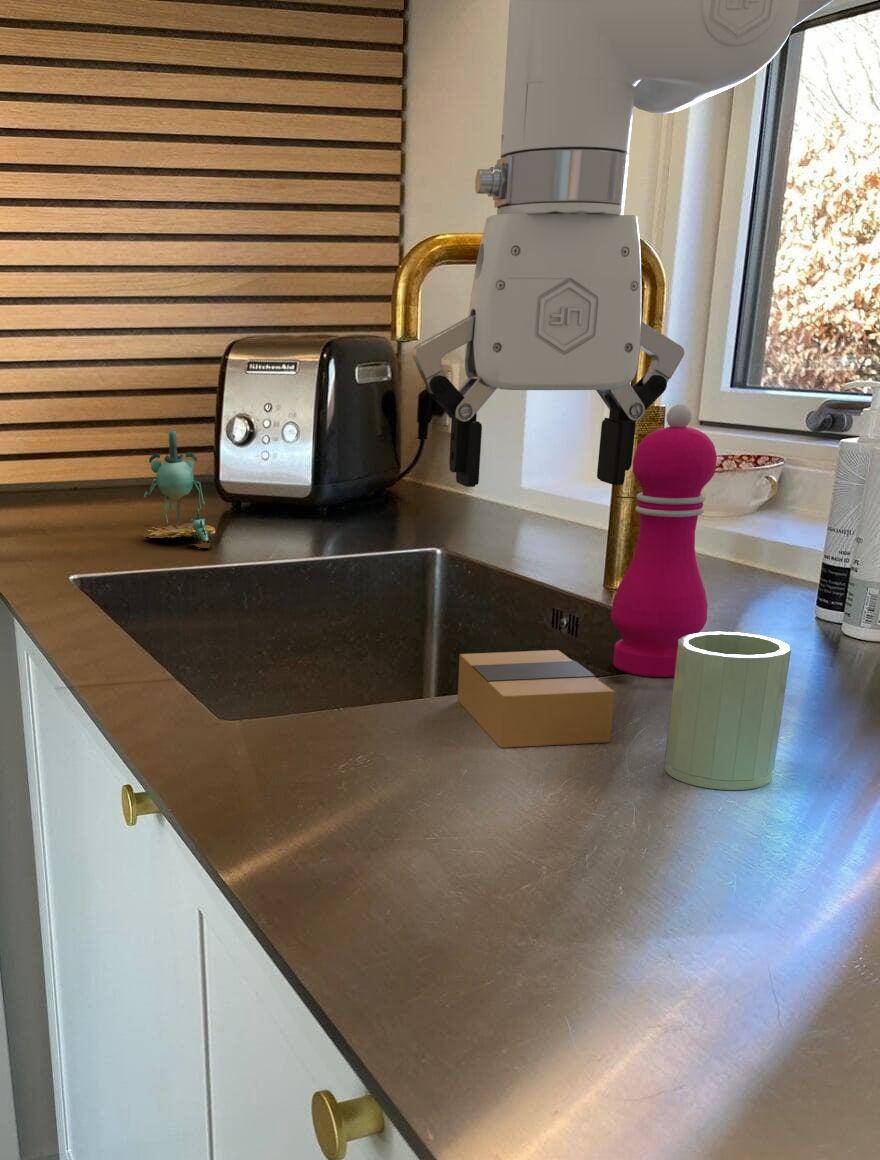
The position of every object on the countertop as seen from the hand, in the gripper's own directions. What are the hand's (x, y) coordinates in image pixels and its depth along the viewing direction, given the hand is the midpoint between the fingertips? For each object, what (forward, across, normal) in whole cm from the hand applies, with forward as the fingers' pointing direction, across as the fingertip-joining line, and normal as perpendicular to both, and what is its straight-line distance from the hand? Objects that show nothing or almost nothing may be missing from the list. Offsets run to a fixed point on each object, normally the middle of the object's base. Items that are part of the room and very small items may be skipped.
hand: (538, 483), depth 79 cm
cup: (+16, +8, -13) cm, 22 cm away
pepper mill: (+16, +14, +11) cm, 24 cm away
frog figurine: (+16, -21, +81) cm, 85 cm away
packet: (+16, 0, -1) cm, 16 cm away
